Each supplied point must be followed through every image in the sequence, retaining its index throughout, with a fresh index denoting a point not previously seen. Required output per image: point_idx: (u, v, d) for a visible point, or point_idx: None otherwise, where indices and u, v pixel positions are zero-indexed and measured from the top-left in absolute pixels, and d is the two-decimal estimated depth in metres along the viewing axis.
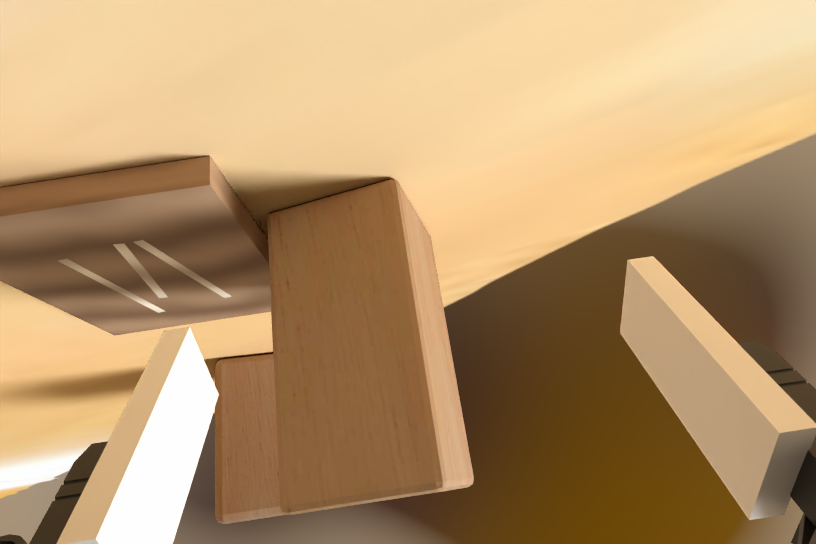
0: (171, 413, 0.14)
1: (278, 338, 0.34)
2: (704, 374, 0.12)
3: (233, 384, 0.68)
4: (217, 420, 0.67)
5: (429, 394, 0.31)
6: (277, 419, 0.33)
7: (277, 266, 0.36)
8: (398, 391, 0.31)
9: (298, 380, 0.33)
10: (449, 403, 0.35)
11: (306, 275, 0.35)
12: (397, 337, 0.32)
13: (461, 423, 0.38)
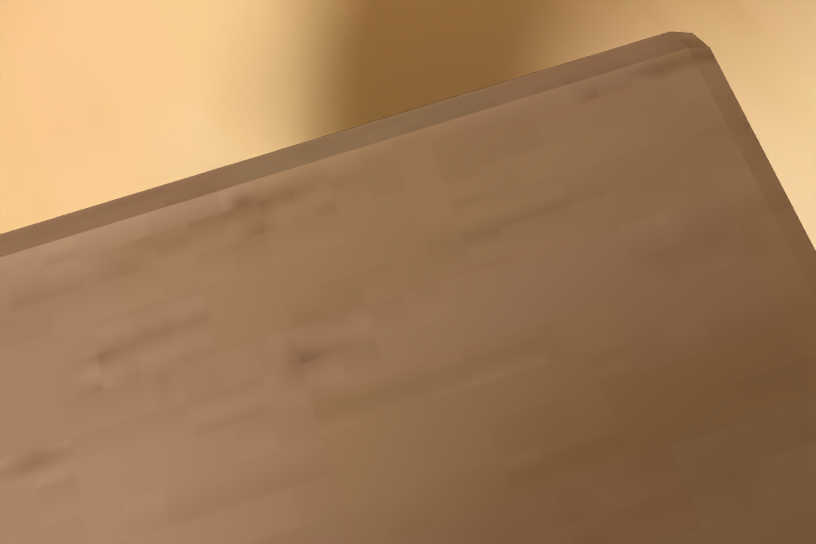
0: None
1: None
2: None
3: None
4: None
5: None
6: None
7: None
8: None
9: None
10: None
11: None
12: None
13: None
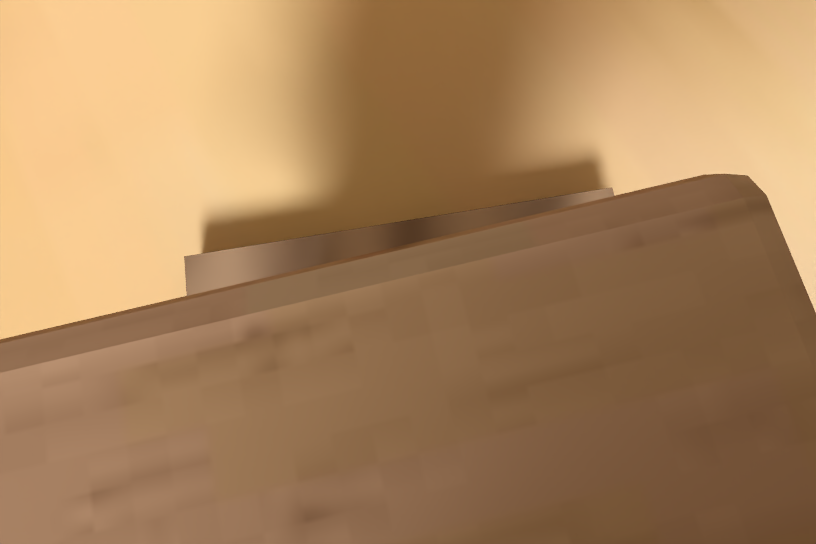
0: None
1: None
2: None
3: None
4: None
5: None
6: None
7: None
8: None
9: None
10: None
11: None
12: None
13: None
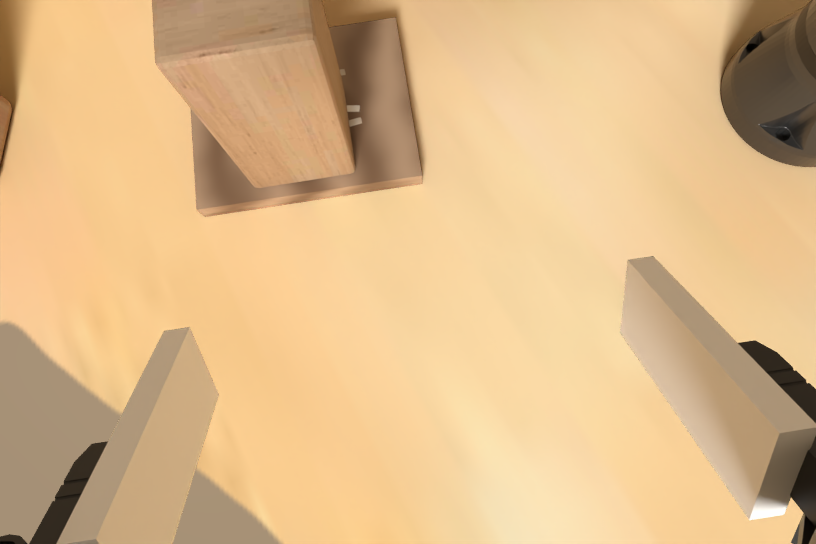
0: (171, 413, 0.14)
1: (327, 25, 0.44)
2: (704, 374, 0.12)
3: None
4: None
5: (327, 87, 0.37)
6: None
7: (337, 64, 0.49)
8: (328, 68, 0.38)
9: (323, 13, 0.41)
10: (257, 99, 0.37)
11: (338, 76, 0.48)
12: (336, 98, 0.41)
13: (204, 99, 0.36)
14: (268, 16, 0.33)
